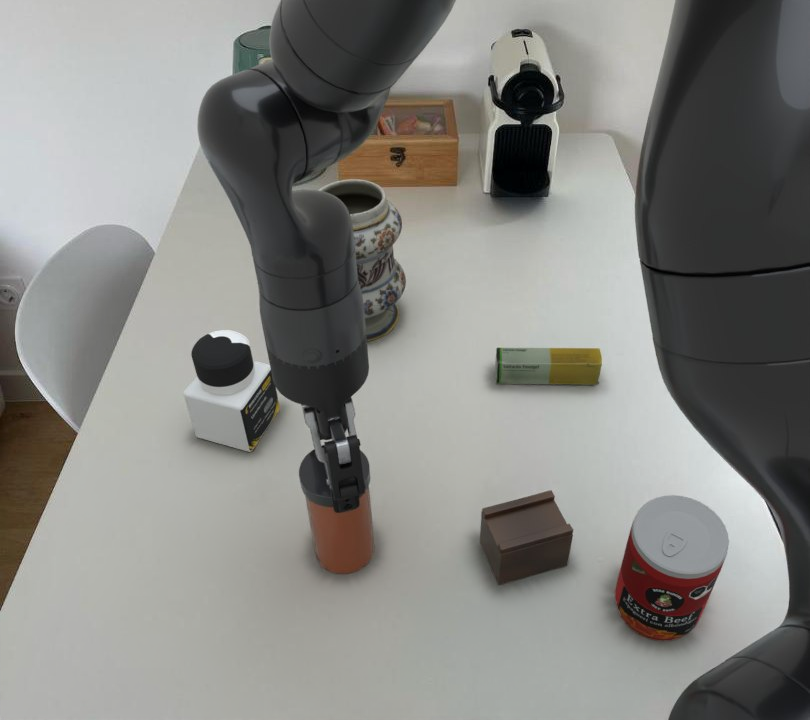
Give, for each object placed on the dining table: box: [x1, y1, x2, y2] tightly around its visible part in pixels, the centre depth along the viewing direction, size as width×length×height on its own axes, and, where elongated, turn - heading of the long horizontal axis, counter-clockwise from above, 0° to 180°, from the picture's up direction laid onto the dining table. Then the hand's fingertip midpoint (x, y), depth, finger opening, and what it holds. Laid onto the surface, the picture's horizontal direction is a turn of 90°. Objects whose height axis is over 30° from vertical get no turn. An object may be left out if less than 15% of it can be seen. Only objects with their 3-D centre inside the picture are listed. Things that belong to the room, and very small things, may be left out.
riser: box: [479, 489, 574, 586], centre depth 76 cm, size 7×5×6 cm
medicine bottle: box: [182, 329, 281, 453], centre depth 88 cm, size 7×7×12 cm
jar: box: [298, 444, 376, 575], centre depth 75 cm, size 12×6×6 cm
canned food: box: [614, 494, 730, 642], centre depth 70 cm, size 8×8×11 cm
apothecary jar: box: [317, 178, 407, 342], centre depth 99 cm, size 12×12×18 cm
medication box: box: [494, 347, 603, 386], centre depth 94 cm, size 12×3×4 cm, turn 86°
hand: (334, 470), depth 71 cm, fingers open, 8 cm apart
